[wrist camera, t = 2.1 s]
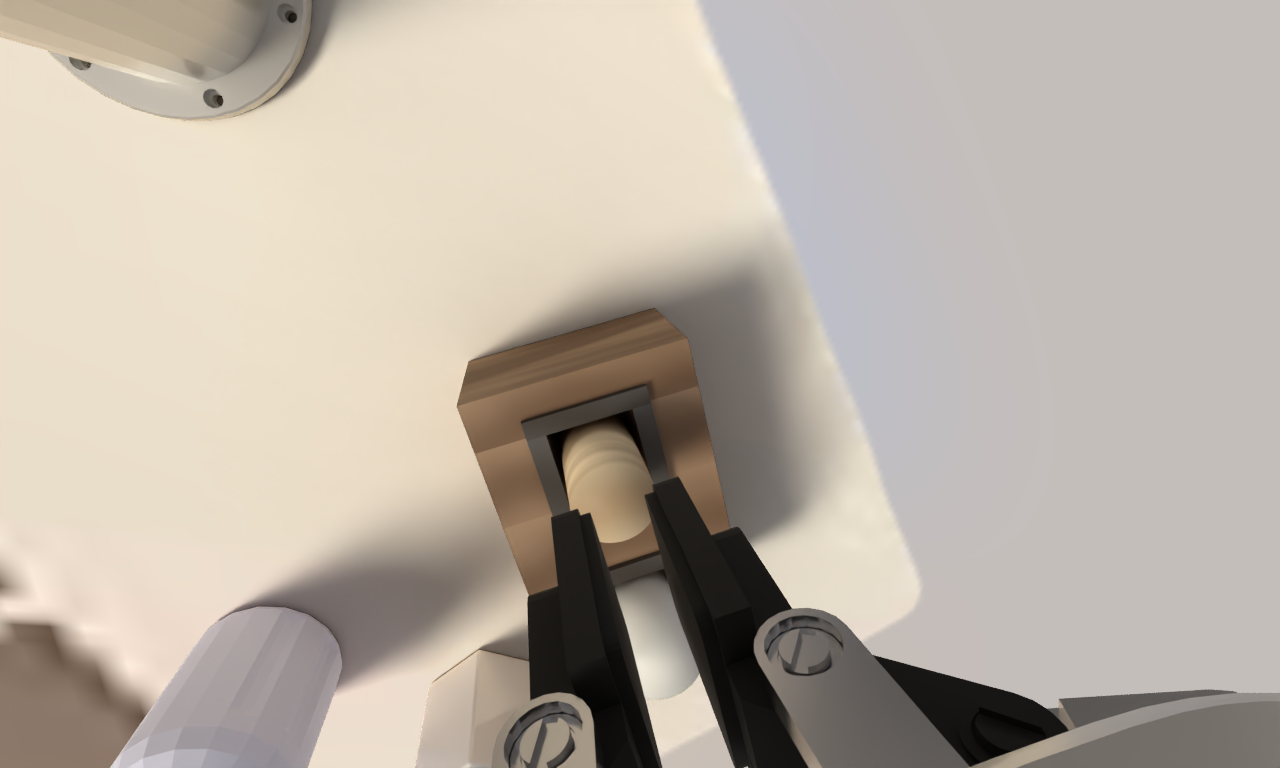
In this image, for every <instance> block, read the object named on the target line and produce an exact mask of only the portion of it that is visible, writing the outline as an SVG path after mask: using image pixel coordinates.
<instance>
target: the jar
mask: <svg viewBox="0 0 1280 768" xmlns="http://www.w3.org/2000/svg"><path fill="white" fill-rule="evenodd" d="M529 701H530V675H529V661H526V660H521V659H517V658H513V657H508V656H504V655H500V654H496V653H491V652H487V651H483V650H478V651H476V652H475V653H474V654H472V655H471V656H469V657H468V658H467V659H465V660H464V661H463V662H461V663H460V664H458V665H457V666H456V667H454V668H453V669H451V670H450V671H449V672H447V673H446V674H444V675H443V676H442V677H440V678H439V679H437V680H436V681H434V682H433V683H432V684H430V686H429V689H428V694H427V700H426V706H425V712H424V717H423V723H422V729H421V735H420V741H419V746H418V752H417V758H416V764H415V768H491V764H492V755H493V749H494V746H495V742H496V738H497V736H498V734H499V732H500V731H501V729H502V727H503V725H504V724H505V722H506V721H507V720H508V719H509V718H510V717H511V716H512V715H513V714H514V712H515V711H516V710H518V709H519V708H521V707H522V706H523V705H525V704H526V703H528V702H529Z"/></svg>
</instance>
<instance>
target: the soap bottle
mask: <svg viewBox="0 0 1280 768" xmlns="http://www.w3.org/2000/svg"><path fill="white" fill-rule="evenodd" d="M342 666H343V664H342V658H341V653H340V647H339V644H338V642H337V641H336V639H335V638H334V636H333V635H332V634H331V632H330V631H329V629H328V628H327V627H326V626H324V625H323V624H321V623H320V622H319V621H317V620H316V619H314V618H313V617H311V616H310V615H308V614H305V613H302V612H298V611H295V610H292V609H288V608H285V607H255V608H251V609H247V610H243V611H239V612H235V613H232V614H230V615H228V616H227V617H225V618H224V619H222V620H220V621H219V622H217V623H215V624H214V625H212V626H210V627H209V628H208V629H207V631H206V632H205V633H204V634H203V636H202V637H201V638H200V640H199V641H198V642H197V643H196V645H195V646H194V648H193V649H192V651H191V652H190V653H189V655H188V656H187V658H186V659H185V661H184V662H183V663H182V665H181V666H180V668H179V669H178V671H177V672H176V674H175V675H174V676H173V678H172V679H171V681H170V682H169V684H168V685H167V687H166V688H165V689H164V691H163V692H162V694H161V695H160V697H159V698H158V699H157V701H156V702H155V704H154V705H153V707H152V708H151V710H150V711H149V712H148V714H147V715H146V717H145V718H144V720H143V721H142V722H141V724H140V725H139V727H138V728H137V730H136V731H135V733H134V734H133V735H132V737H131V738H130V740H129V741H128V743H127V744H126V745H125V747H124V748H123V750H122V751H121V753H120V754H119V756H118V757H117V758H116V760H115V761H114V763H113V764H112V766H111V767H110V768H308V765H309V762H310V759H311V756H312V754H313V751H314V748H315V745H316V742H317V740H318V737H319V734H320V731H321V728H322V726H323V723H324V720H325V717H326V714H327V712H328V709H329V706H330V703H331V700H332V698H333V695H334V692H335V689H336V686H337V684H338V680H339V677H340V673H341V670H342Z"/></svg>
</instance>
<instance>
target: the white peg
mask: <svg viewBox="0 0 1280 768" xmlns="http://www.w3.org/2000/svg"><path fill="white" fill-rule="evenodd" d="M614 588H615V591H616V594H617V597H618V600H619V604H620V607H621V610H622V613H623V616H624V619H625V623H626V626H627V630H628V633H629V637H630V641H631V645H632V649H633V653H634V657H635V661H636V665H637V669H638V673H639V677H640V681H641V685H642V689H643V693H644V697H645V698H646V699H651V700H662V699H668V698H671V697H674V696H676V695H678V694H680V693H682V692H683V691H685V690H686V689H687V688H689V687H690V686H691V685H692V684H693V682H694V681H695V680H696V678H697V677H698V675H699V671H698V668H697V665H696V663H695V660H694V657H693V655H692V652H691V649H690V647H689V644H688V641H687V639H686V636H685V633H684V631H683V628H682V625H681V623H680V620H679V617H678V614H677V611H676V608H675V605H674V601H673V598H672V594H671V591H670V587H669V583H668V580H667V576H666V573H665V569H662V570H659V571H656V572H653V573H650V574H647V575H644V576H641V577H638V578H635V579H632V580H629V581H626V582H623V583H620V584H617V585H614Z"/></svg>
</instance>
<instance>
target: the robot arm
mask: <svg viewBox="0 0 1280 768" xmlns="http://www.w3.org/2000/svg"><path fill="white" fill-rule="evenodd" d="M311 11H312V0H0V37H2V38H5V39H9V40H12V41H16V42H19V43H23V44H26V45H30V46H33V47H37V48H40V49H44V50H47V51H48V52H49V53H50V54H51V55H52V56H53V57H54V58H55V59H56V60H57V61H58V62H59V63H61V64H62V65H63V66H64V67H65V68H66V69H67V70H69V71H70V72H71V73H72V74H73V75H74V76H75V77H77V78H78V79H79V80H81V81H82V82H84V83H86V84H87V85H89V86H90V87H92V88H93V89H95V90H96V91H98V92H99V93H101V94H102V95H104V96H106V97H108V98H110V99H112V100H115V101H117V102H119V103H121V104H123V105H126V106H128V107H130V108H132V109H135V110H139V111H142V112H146V113H150V114H153V115H157V116H160V117H166V118H172V119H178V120H184V121H212V120H218V119H223V118H228V117H234V116H237V115H239V114H242V113H244V112H247V111H249V110H251V109H254V108H256V107H258V106H260V105H261V104H262V103H264V102H265V101H267V100H268V99H269V98H271V97H272V96H274V95H275V94H276V93H277V92H278V91H279V90H280V89H281V88H282V87H283V85H284V84H285V83H286V82H287V81H288V80H289V79H290V77H291V76H292V75H293V73H294V71H295V69H296V67H297V65H298V64H299V62H300V60H301V58H302V56H303V54H304V50H305V47H306V43H307V40H308V36H309V33H310V25H311ZM290 13H295V14H296V15H297V19H296V21H295V22H294V23H290V22H289V20H288V16H289V14H290ZM87 62H90V63H91V66H90V67H89V66H88V63H87ZM220 95H221V96H222V97H223V101H224V102H223V104H222V106H219V105H218V103H217V100H216V99H217V97H218V96H220ZM652 487H653V492H652V493H649V494H646V495H644V496H645V501H646V504H647V508H648V511H649V515H650V519H651V522H652V526H653V529H654V533H655V537H656V540H657V544H658V547H659V551H660V555H661V558H662V562H663V565H664V569H665V573H666V576H667V580H668V583H669V587H670V591H671V594H672V598H673V601H674V605H675V608H676V611H677V614H678V617H679V620H680V623H681V625H682V628H683V631H684V633H685V636H686V639H687V641H688V644H689V647H690V649H691V652H692V655H693V657H694V660H695V663H696V665H697V668H698V671H699V673H700V676H701V679H702V681H703V684H704V687H705V689H706V692H707V695H708V697H709V700H710V703H711V705H712V708H713V711H714V713H715V716H716V719H717V721H718V724H719V727H720V729H721V732H722V735H723V737H724V740H725V743H726V745H727V748H728V750H729V753H730V756H731V759H732V761H733V764H734V766H735V768H744V767H746V766H748V768H1280V693H1237V692H1233V691H1222V690H1194V691H1179V692H1162V693H1146V694H1130V695H1114V696H1098V697H1081V698H1065V699H1059V708H1051V709H1046V708H1044V707H1043V706H1041V705H1040V704H1038V703H1036V702H1035V701H1033V700H1030V699H1028V698H1025V697H1023V696H1020V695H1018V694H1015V693H1012V692H1008V691H1004V690H1001V689H997V688H993V687H989V686H985V685H982V684H978V683H974V682H971V681H967V680H963V679H960V678H956V677H952V676H949V675H945V674H941V673H937V672H934V671H930V670H926V669H922V668H919V667H915V666H911V665H907V664H904V663H900V662H896V661H893V660H889V659H885V658H882V657H878V656H874V655H872V654H871V653H870V652H869V651H868V650H867V648H866V647H865V646H864V645H863V644H862V642H861V641H860V640H859V639H858V638H857V637H856V636H855V634H854V633H853V632H852V631H851V630H850V629H849V628H848V626H847V625H846V624H844V623H843V622H842V621H841V620H840V619H838V618H837V617H836V616H834V615H831V614H829V613H827V612H825V611H822V610H816V609H811V608H798V609H792V608H791V606H790V605H789V603H788V602H787V600H786V598H785V597H784V595H783V594H782V592H781V591H780V589H779V588H778V586H777V585H776V583H775V582H774V580H773V578H772V577H771V575H770V574H769V572H768V571H767V569H766V568H765V566H764V565H763V563H762V562H761V560H760V558H759V557H758V555H757V554H756V552H755V551H754V549H753V548H752V546H751V545H750V543H749V542H748V540H747V538H746V537H745V535H744V534H743V532H742V531H741V530H740V528H738V527H734V528H731V529H728V530H725V531H722V532H719V533H716V534H713V535H711V534H710V532H709V530H708V529H707V527H706V525H705V523H704V521H703V520H702V518H701V516H700V514H699V512H698V511H697V509H696V507H695V505H694V503H693V502H692V500H691V498H690V496H689V494H688V492H687V491H686V489H685V487H684V485H683V483H682V482H681V480H680V478H679V477H675V478H672V479H669V480H665V481H662V482H659V483H656V484H653V485H652ZM551 525H552V535H553V544H554V554H555V563H556V573H557V583H558V586H556V587H553V588H550V589H547V590H544V591H541V592H538V593H535V594H532V595H529V597H528V638H529V675H530V701H529V702H528V703H526V704H525V705H523V706H522V707H521V708H519V709H518V710H516V711H515V712H514V714H513V715H512V716H511V717H510V718H509V719H508V720H507V721H506V722H505V724H504V725H503V727H502V729H501V731H500V732H499V734H498V736H497V738H496V742H495V746H494V749H493V755H492V764H491V768H662V765H661V761H660V757H659V753H658V749H657V745H656V741H655V737H654V733H653V729H652V725H651V721H650V717H649V713H648V709H647V705H646V701H645V697H644V693H643V689H642V685H641V681H640V677H639V673H638V669H637V665H636V661H635V657H634V653H633V649H632V645H631V641H630V637H629V633H628V630H627V626H626V623H625V619H624V616H623V613H622V610H621V607H620V604H619V600H618V597H617V594H616V591H615V588H614V585H613V582H612V578H611V575H610V572H609V569H608V566H607V563H606V560H605V556H604V553H603V550H602V547H601V544H600V541H599V538H598V534H597V531H596V528H595V525H594V522H593V519H592V516H591V513H590V512H589V513H586V514H583V515H580V513H579V510H578V509H575V510H572V511H568V512H565V513H562V514H559V515H556V516H553V517H551Z"/></svg>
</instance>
